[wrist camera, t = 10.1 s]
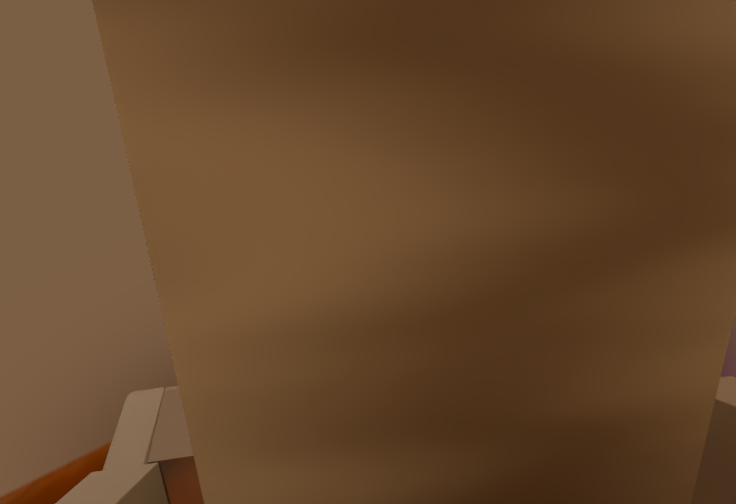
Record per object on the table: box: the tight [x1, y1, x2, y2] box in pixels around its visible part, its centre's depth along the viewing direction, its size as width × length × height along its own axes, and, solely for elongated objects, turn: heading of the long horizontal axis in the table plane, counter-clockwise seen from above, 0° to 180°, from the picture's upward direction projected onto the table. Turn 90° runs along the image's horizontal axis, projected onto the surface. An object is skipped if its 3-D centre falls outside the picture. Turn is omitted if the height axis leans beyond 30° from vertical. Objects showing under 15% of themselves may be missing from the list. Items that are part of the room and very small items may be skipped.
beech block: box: [92, 0, 736, 504], centre depth 9 cm, size 5×5×14 cm
